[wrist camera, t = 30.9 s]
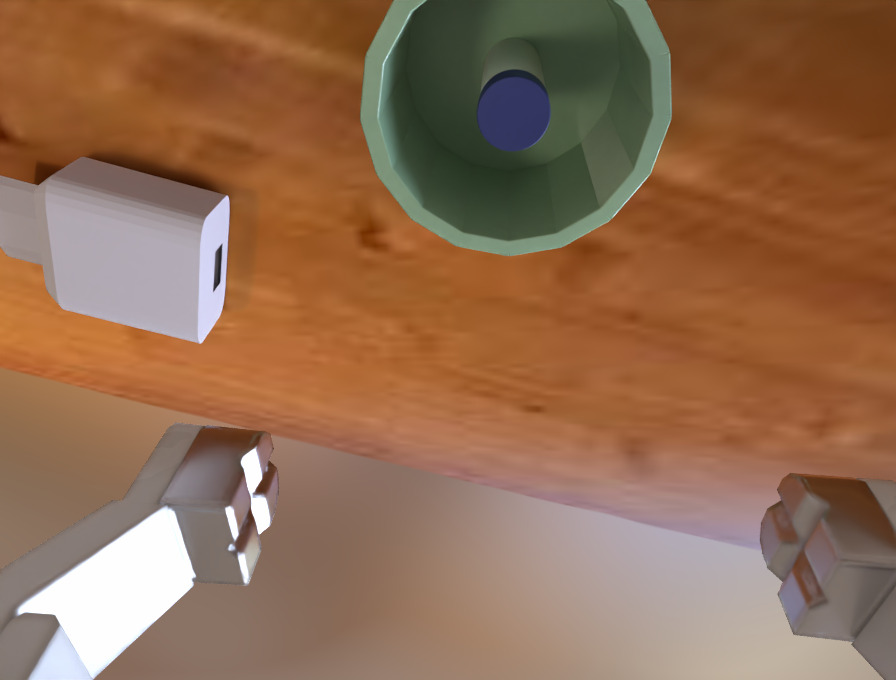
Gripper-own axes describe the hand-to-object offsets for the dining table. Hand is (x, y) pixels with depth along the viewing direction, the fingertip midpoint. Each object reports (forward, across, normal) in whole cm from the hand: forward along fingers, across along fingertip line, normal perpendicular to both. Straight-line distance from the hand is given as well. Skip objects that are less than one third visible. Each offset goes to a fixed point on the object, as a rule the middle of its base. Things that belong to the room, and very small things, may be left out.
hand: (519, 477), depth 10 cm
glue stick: (+29, 0, 0) cm, 29 cm away
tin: (+29, 0, 0) cm, 29 cm away
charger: (+29, +25, +11) cm, 40 cm away
